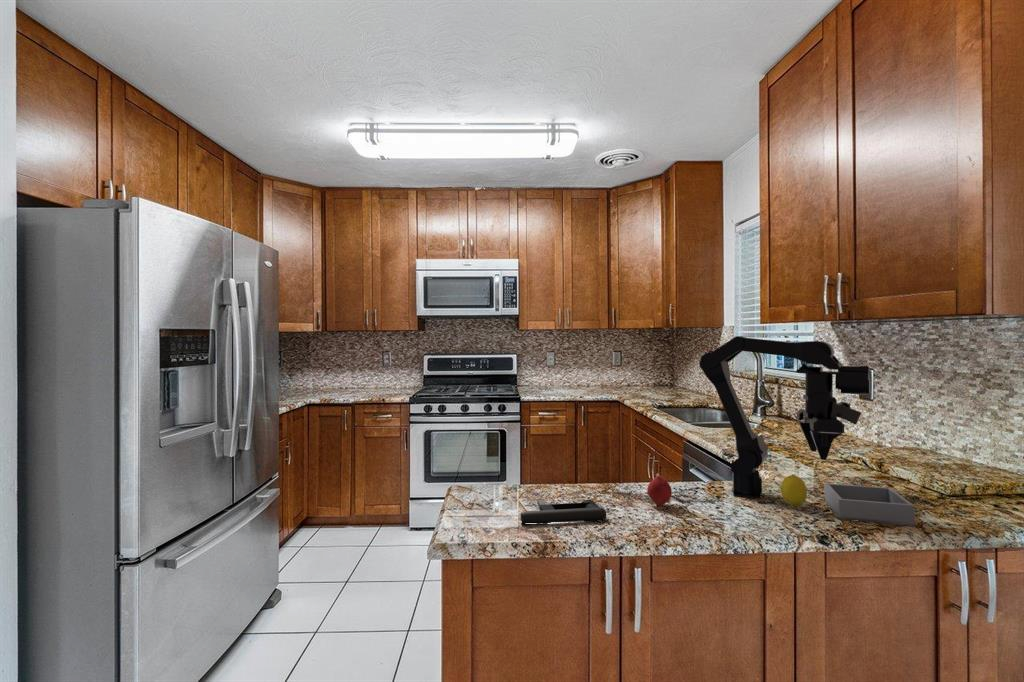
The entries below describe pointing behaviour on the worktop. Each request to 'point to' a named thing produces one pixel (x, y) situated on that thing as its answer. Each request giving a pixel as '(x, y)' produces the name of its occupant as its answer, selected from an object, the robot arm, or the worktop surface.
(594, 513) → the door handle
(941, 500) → the worktop surface
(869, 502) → the box
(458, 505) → the worktop surface
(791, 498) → the lemon
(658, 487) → the onion
